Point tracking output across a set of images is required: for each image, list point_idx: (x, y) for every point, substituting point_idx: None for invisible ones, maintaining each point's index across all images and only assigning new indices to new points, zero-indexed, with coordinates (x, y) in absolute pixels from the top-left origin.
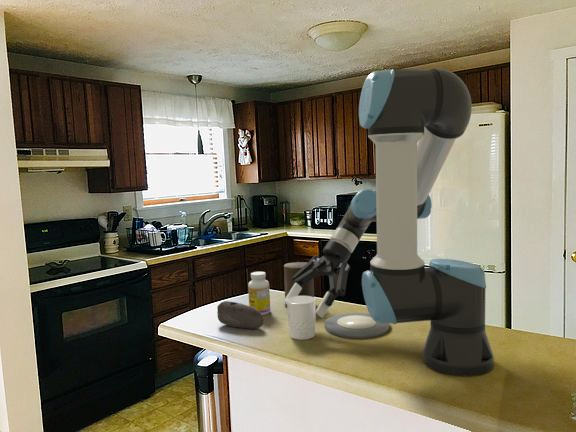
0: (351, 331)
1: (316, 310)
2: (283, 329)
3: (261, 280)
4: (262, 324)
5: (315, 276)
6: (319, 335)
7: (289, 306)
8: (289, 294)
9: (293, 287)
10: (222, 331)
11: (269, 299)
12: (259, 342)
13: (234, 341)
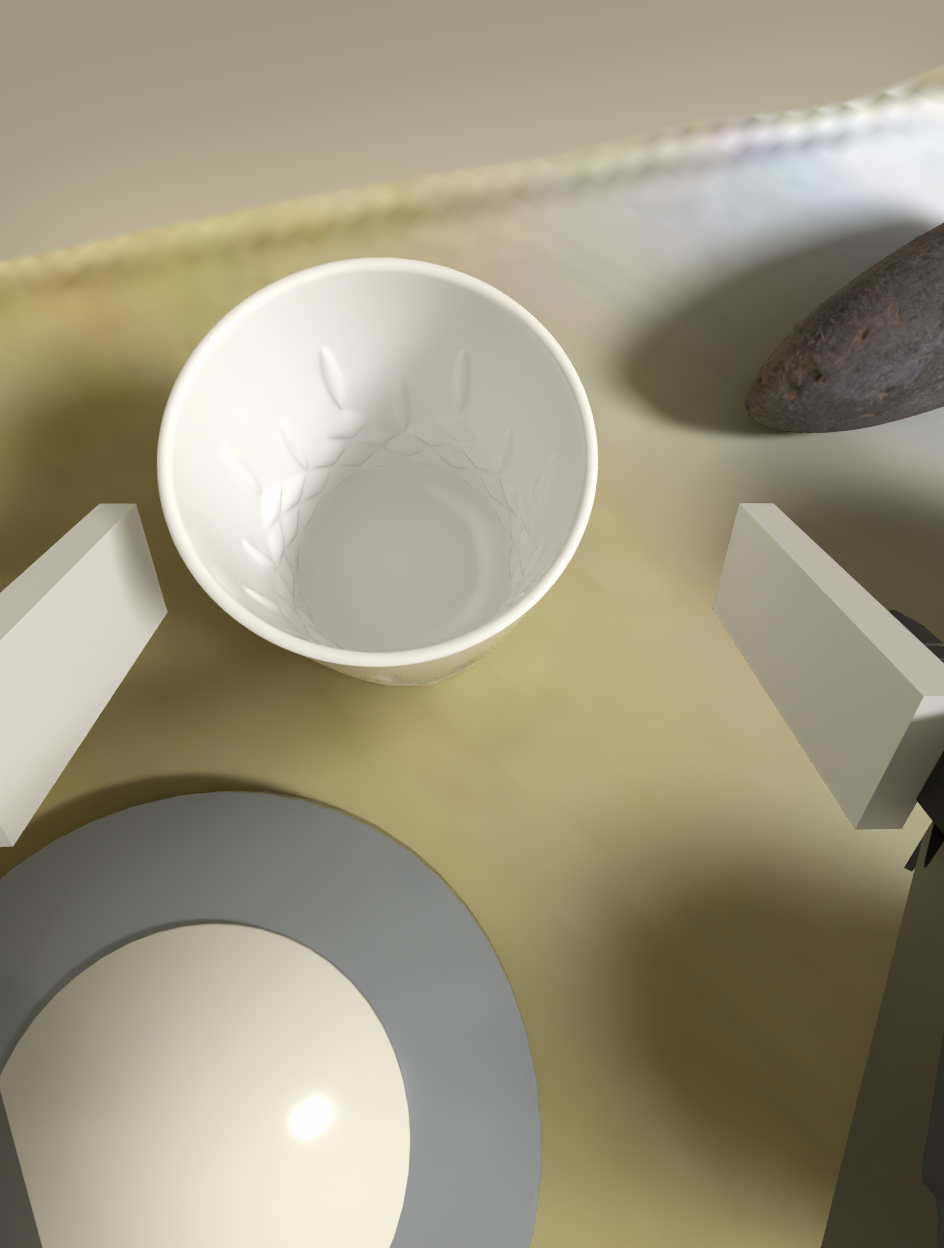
0: (66, 900)
1: (111, 512)
2: (632, 562)
3: None
4: (751, 415)
5: (838, 1191)
6: (309, 688)
7: (396, 297)
8: (793, 556)
9: (875, 630)
10: (890, 223)
11: None
12: (518, 282)
13: (652, 181)
